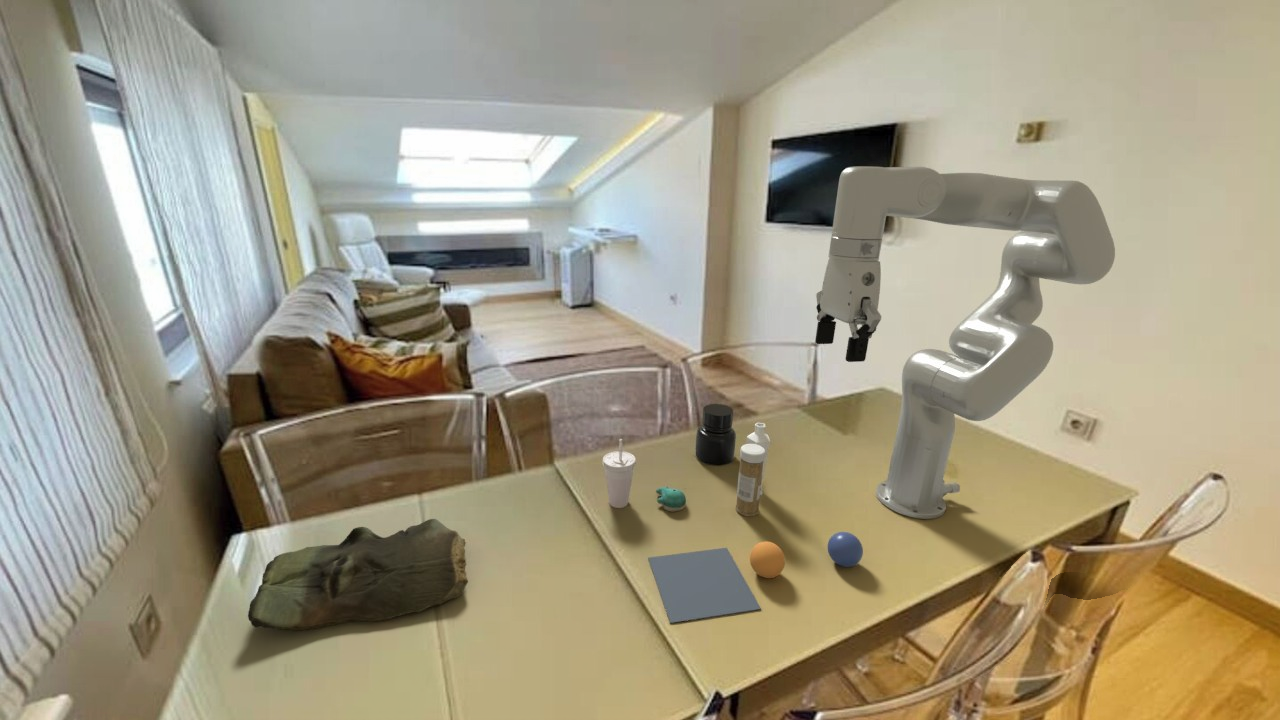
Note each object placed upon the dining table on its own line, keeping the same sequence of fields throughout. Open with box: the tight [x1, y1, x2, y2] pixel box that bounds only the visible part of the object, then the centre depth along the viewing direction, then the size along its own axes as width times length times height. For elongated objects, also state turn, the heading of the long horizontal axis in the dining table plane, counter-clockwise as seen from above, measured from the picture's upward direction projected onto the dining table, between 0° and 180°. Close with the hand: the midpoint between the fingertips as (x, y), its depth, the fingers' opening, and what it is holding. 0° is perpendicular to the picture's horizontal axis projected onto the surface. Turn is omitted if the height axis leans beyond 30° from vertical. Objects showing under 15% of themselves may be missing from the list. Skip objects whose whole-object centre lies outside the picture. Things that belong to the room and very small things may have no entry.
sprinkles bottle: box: [735, 443, 765, 517], centre depth 100 cm, size 5×5×13 cm
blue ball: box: [827, 531, 864, 568], centre depth 87 cm, size 6×6×6 cm
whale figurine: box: [655, 486, 687, 513], centre depth 103 cm, size 6×7×4 cm
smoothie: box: [602, 438, 637, 509], centre depth 101 cm, size 6×6×14 cm
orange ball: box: [749, 541, 786, 579], centre depth 84 cm, size 6×6×6 cm
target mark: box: [647, 547, 762, 624], centre depth 83 cm, size 14×14×1 cm
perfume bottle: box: [746, 422, 771, 496], centre depth 106 cm, size 5×4×15 cm
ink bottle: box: [695, 403, 737, 466], centre depth 120 cm, size 10×9×12 cm
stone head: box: [247, 518, 469, 631], centre depth 81 cm, size 19×8×28 cm
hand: (838, 351), depth 89 cm, fingers open, 9 cm apart
